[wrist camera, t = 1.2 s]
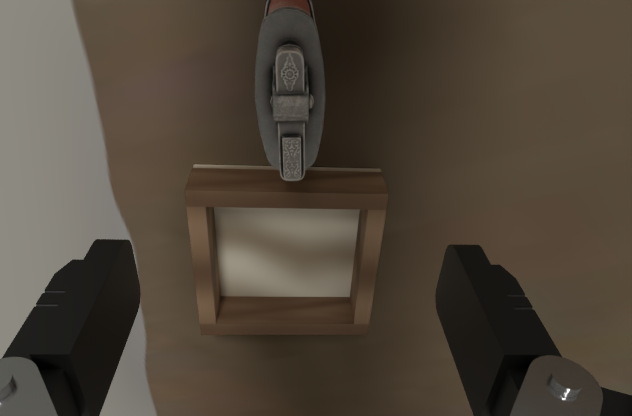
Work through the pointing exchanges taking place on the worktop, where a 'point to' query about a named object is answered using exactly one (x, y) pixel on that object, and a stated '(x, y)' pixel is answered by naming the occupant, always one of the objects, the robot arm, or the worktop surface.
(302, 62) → the lighter
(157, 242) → the worktop surface
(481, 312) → the robot arm
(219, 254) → the walnut holder
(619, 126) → the worktop surface
